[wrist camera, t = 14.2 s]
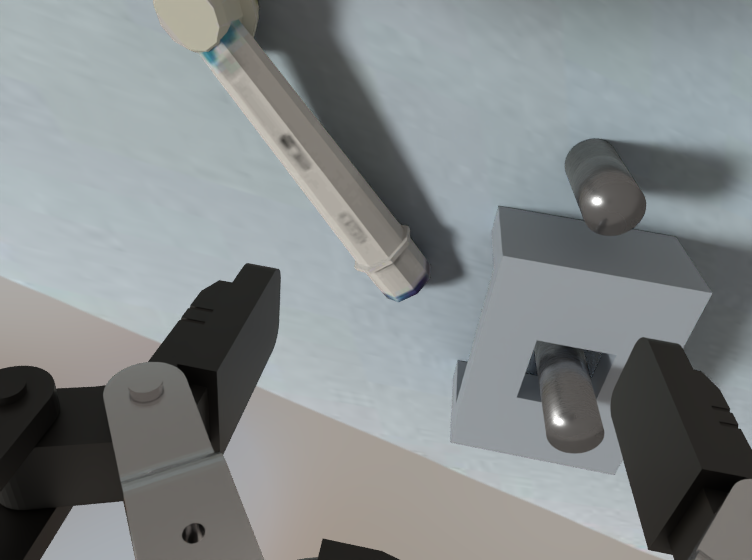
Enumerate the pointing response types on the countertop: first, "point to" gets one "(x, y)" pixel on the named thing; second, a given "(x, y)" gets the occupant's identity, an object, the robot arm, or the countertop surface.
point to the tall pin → (567, 398)
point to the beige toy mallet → (298, 139)
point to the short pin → (604, 188)
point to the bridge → (566, 325)
